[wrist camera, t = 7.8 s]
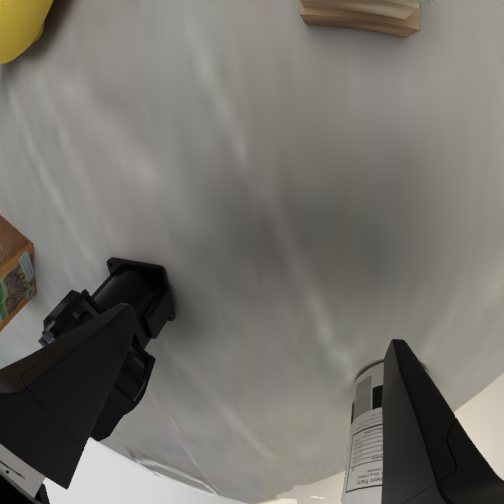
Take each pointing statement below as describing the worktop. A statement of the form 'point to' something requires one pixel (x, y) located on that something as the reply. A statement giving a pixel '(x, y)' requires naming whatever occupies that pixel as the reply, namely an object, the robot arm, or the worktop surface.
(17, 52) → the teapot
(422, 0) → the sage cube
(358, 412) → the supplement can
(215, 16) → the worktop surface
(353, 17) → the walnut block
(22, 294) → the milk carton
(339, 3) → the maple block
